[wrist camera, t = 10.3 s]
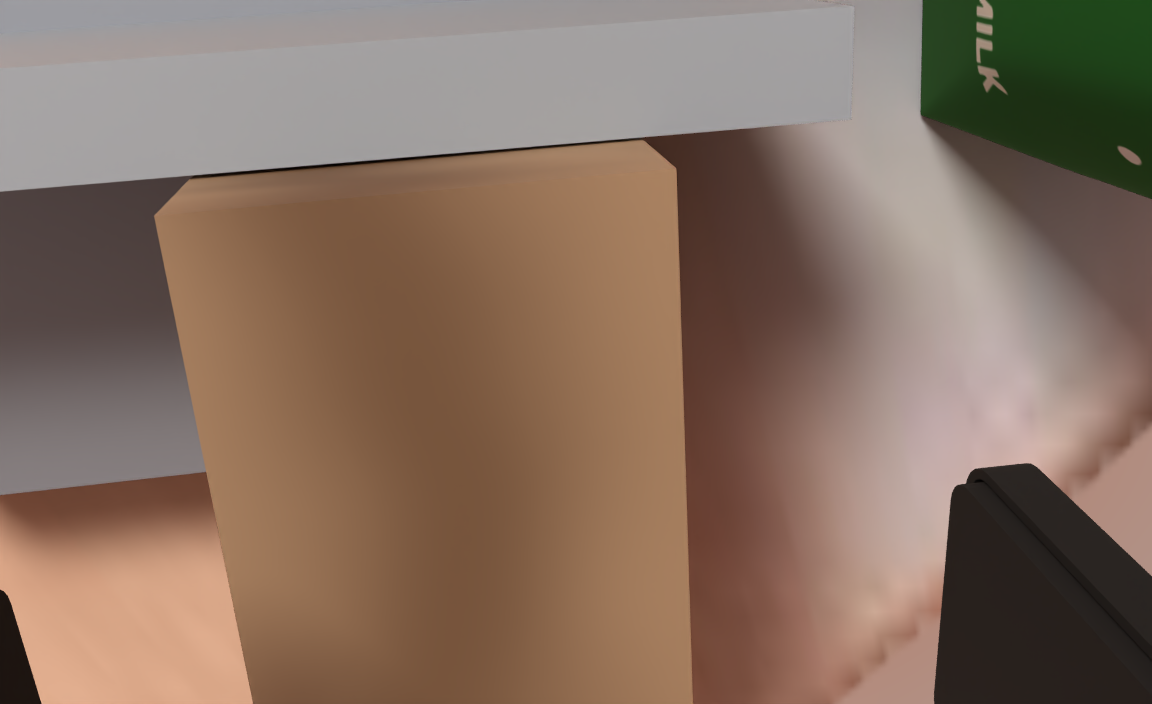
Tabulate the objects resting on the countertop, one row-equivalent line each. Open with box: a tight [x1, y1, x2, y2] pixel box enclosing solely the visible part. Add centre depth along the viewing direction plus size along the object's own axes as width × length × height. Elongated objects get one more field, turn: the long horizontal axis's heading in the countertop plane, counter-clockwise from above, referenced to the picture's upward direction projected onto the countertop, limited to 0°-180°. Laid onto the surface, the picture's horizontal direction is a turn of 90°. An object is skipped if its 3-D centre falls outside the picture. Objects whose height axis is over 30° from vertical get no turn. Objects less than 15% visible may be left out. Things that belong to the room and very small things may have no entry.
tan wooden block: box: [154, 138, 693, 704], centre depth 18 cm, size 6×10×8 cm, turn 3°
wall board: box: [0, 0, 855, 495], centre depth 19 cm, size 20×12×10 cm, turn 93°
